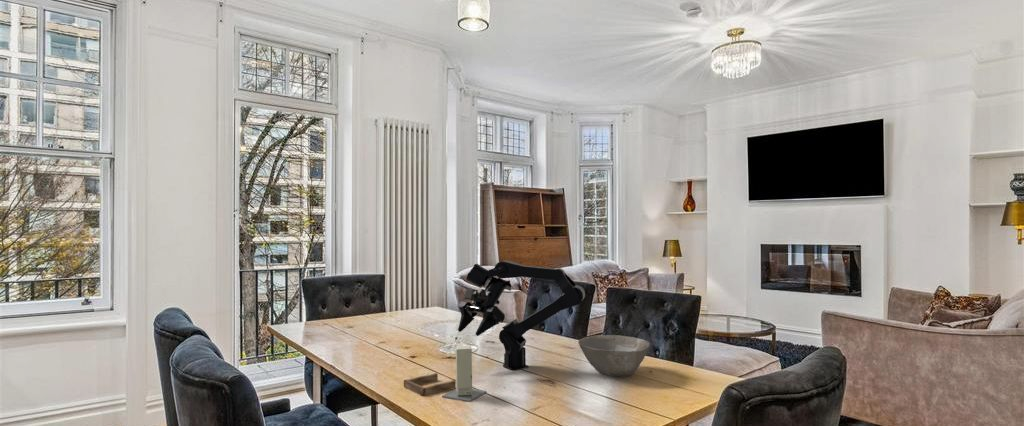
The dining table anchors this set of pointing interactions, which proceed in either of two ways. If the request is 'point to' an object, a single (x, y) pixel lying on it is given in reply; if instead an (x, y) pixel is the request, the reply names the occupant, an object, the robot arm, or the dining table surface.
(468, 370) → the box
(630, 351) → the ceramic bowl
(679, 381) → the dining table surface
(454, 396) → the coaster
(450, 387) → the cradle
